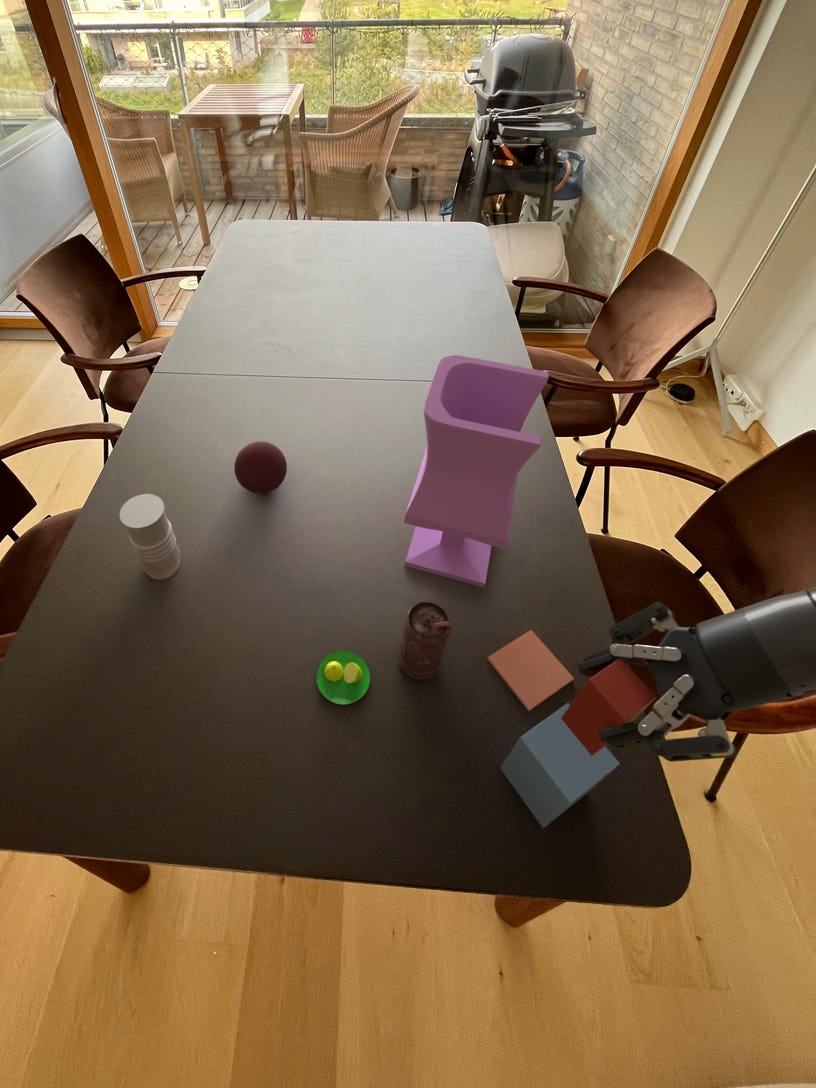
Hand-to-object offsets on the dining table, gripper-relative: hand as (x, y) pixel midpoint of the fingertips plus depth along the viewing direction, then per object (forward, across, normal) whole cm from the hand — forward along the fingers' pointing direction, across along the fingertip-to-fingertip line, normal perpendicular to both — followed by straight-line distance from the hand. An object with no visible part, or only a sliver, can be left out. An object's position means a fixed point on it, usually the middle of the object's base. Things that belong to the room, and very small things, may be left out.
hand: (593, 703), depth 57 cm
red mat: (+16, -15, +20) cm, 30 cm away
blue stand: (+17, 0, +19) cm, 26 cm away
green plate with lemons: (+36, -14, +1) cm, 38 cm away
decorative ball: (+47, -52, -10) cm, 71 cm away
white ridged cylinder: (+58, -34, -22) cm, 70 cm away
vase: (+22, -38, +14) cm, 46 cm away
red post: (+3, 0, +6) cm, 7 cm away
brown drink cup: (+28, -16, +9) cm, 33 cm away
